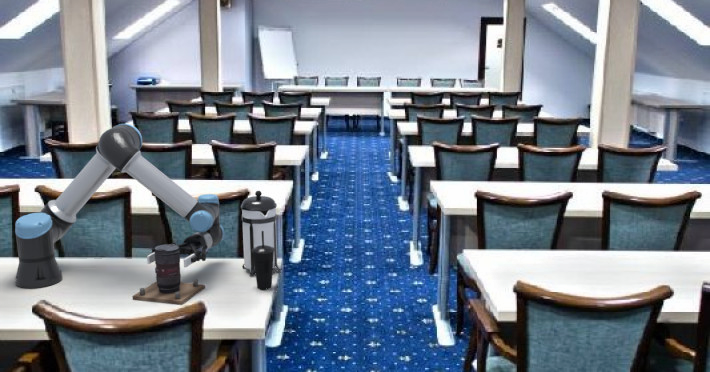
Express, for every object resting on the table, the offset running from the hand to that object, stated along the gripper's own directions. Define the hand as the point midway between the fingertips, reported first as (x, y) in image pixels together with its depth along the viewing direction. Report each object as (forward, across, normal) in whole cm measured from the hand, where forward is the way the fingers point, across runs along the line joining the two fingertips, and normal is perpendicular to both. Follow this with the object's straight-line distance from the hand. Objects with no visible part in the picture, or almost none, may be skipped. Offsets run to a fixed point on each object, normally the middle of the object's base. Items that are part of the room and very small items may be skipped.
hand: (166, 261), depth 239 cm
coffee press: (-32, -19, -12) cm, 39 cm away
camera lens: (-1, 0, -11) cm, 11 cm away
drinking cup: (-15, -28, -12) cm, 34 cm away
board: (-1, 0, -12) cm, 12 cm away
